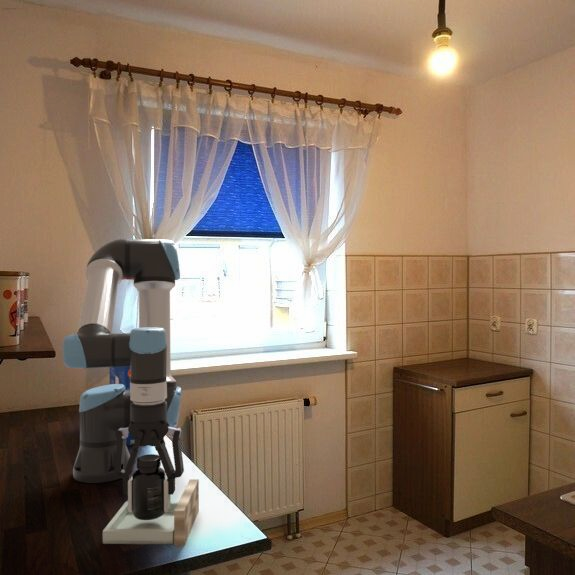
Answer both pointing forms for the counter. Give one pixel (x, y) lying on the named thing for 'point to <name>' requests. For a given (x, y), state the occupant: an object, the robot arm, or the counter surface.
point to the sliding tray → (140, 528)
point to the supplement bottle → (148, 488)
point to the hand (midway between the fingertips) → (149, 508)
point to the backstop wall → (186, 512)
